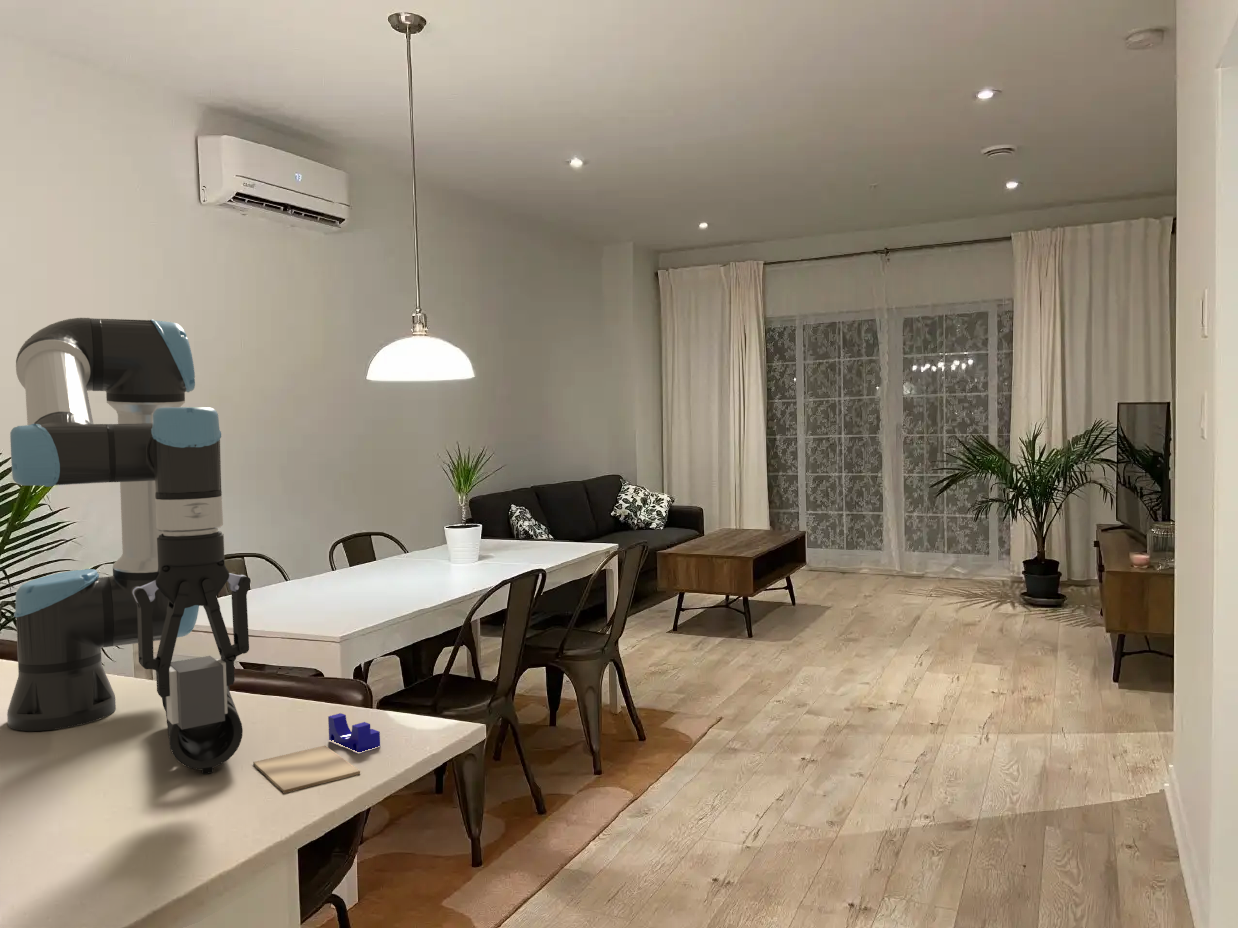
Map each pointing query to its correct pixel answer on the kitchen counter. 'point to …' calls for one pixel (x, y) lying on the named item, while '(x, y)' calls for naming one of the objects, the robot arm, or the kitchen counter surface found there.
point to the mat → (305, 768)
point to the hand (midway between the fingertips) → (197, 715)
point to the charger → (199, 691)
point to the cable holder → (352, 734)
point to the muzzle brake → (206, 740)
